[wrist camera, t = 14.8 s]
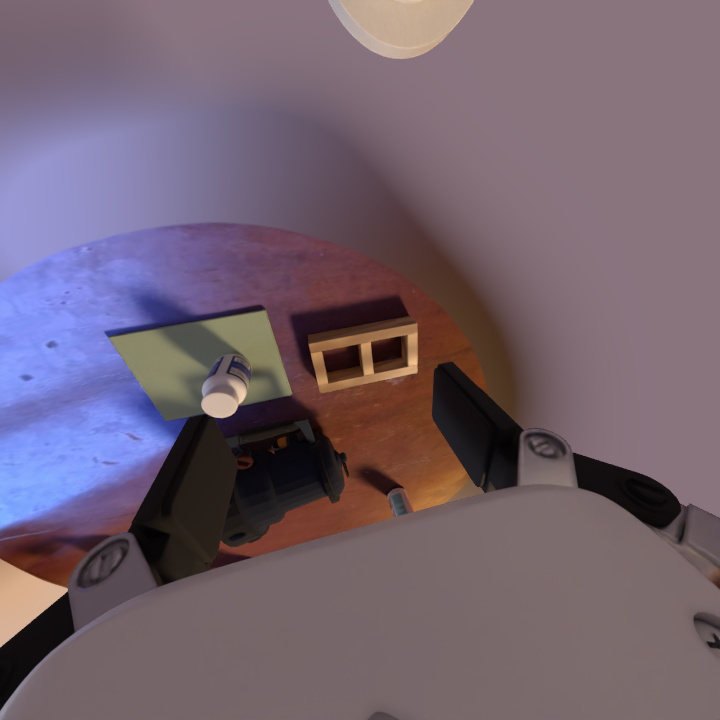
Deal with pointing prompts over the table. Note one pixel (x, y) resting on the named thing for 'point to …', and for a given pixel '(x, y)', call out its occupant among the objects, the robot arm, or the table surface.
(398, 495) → the beer can
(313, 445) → the flashlight
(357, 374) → the rack
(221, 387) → the pill bottle
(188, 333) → the mat
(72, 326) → the table surface
